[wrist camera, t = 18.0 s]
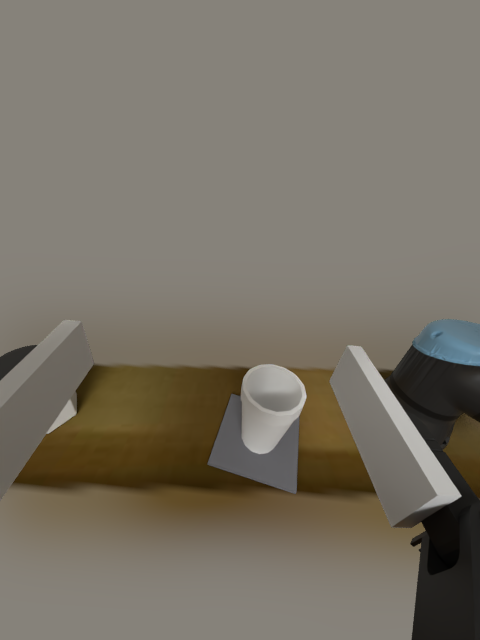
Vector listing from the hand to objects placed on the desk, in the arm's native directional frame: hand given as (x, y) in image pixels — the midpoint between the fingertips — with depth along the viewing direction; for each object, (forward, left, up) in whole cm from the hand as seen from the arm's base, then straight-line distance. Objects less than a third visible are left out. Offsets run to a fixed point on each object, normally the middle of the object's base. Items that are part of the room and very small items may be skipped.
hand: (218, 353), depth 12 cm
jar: (+31, -9, -32) cm, 46 cm away
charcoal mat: (-5, -16, -32) cm, 36 cm away
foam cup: (-5, -16, -32) cm, 36 cm away
